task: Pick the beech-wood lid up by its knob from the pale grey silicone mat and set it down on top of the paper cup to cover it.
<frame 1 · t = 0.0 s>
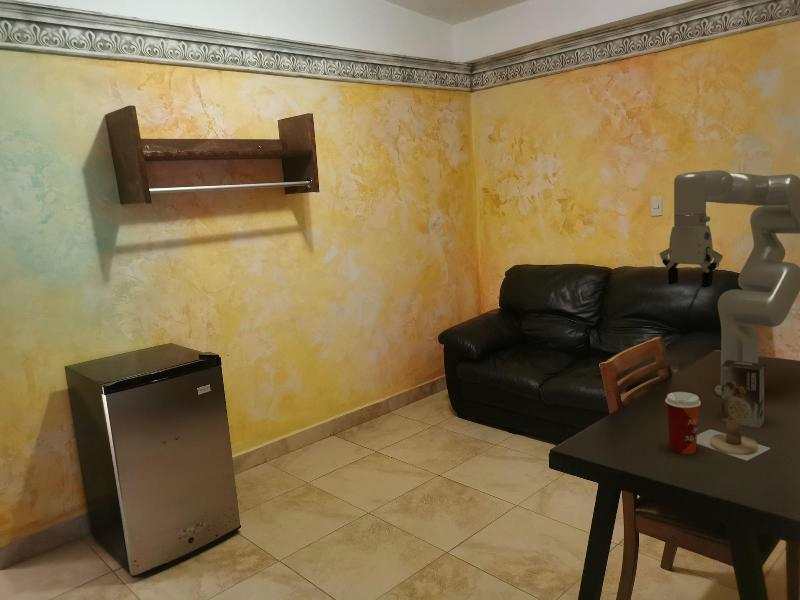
hand: (689, 285, 156), 37 cm above the table, tool pointing down, fingers open, 9 cm apart
coffee box: (742, 423, 154), on the table
lid: (733, 445, 141), point 1 cm above the table, touching mat
paper cup: (682, 451, 142), on the table
mat: (727, 446, 142), on the table
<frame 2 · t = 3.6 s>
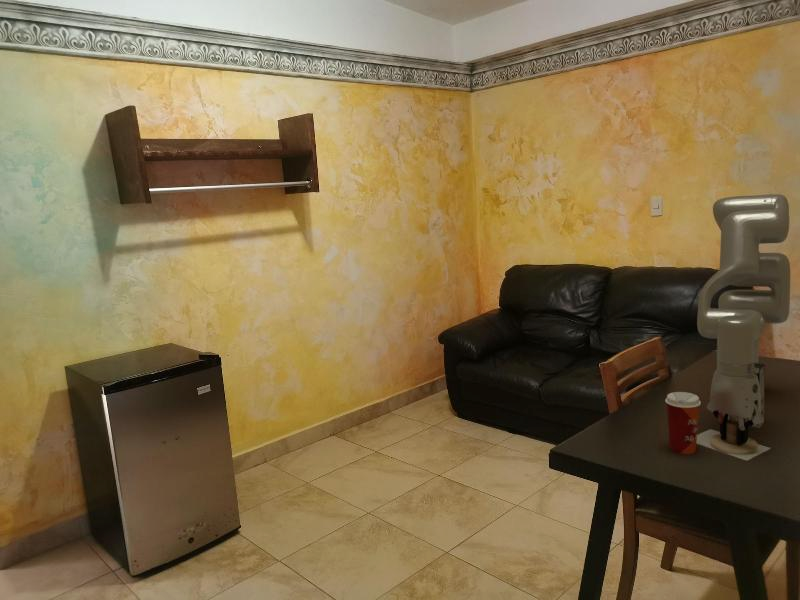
hand: (733, 440, 140), 2 cm above the table, tool pointing down, fingers closed on lid, 3 cm apart
lid: (733, 445, 141), point 1 cm above the table, touching gripper, mat
everything else where it was.
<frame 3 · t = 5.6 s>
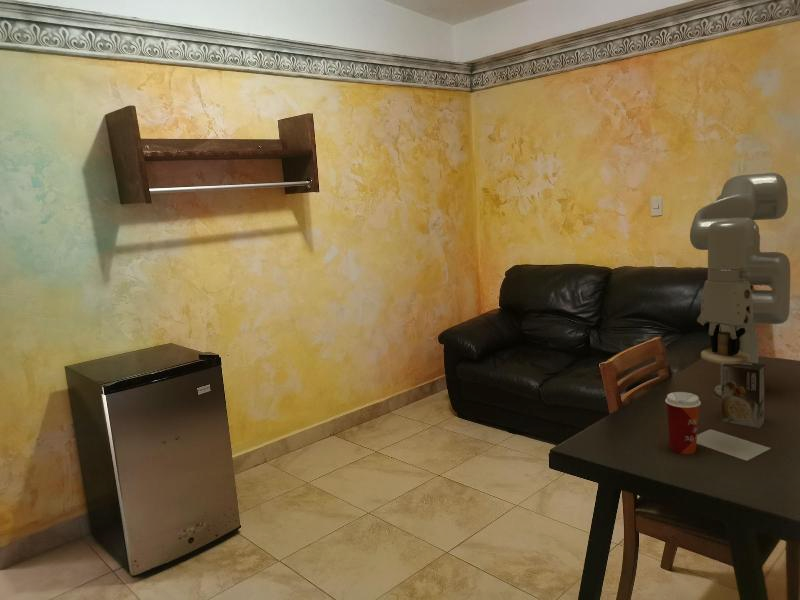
hand: (725, 351, 137), 24 cm above the table, tool pointing down, fingers closed on lid, 3 cm apart
lid: (725, 357, 137), point 23 cm above the table, touching gripper
everything else where it was.
when the fingers open (17 cm above the table, at t = 7.7 s): lid drops 2 cm, resting on paper cup.
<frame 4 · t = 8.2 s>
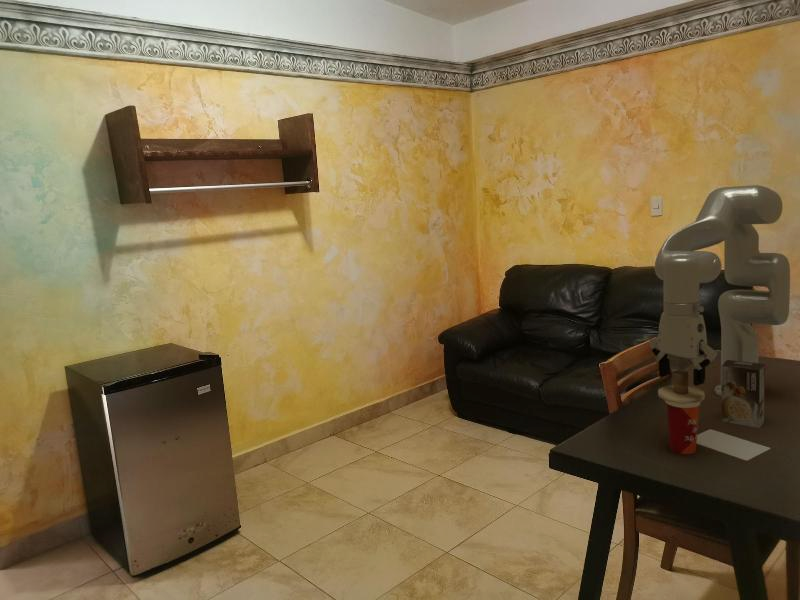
hand: (681, 379, 139), 18 cm above the table, tool pointing down, fingers open, 8 cm apart
lid: (681, 395, 139), point 14 cm above the table, touching paper cup
paper cup: (682, 451, 142), on the table, touching lid
everything else where it was.
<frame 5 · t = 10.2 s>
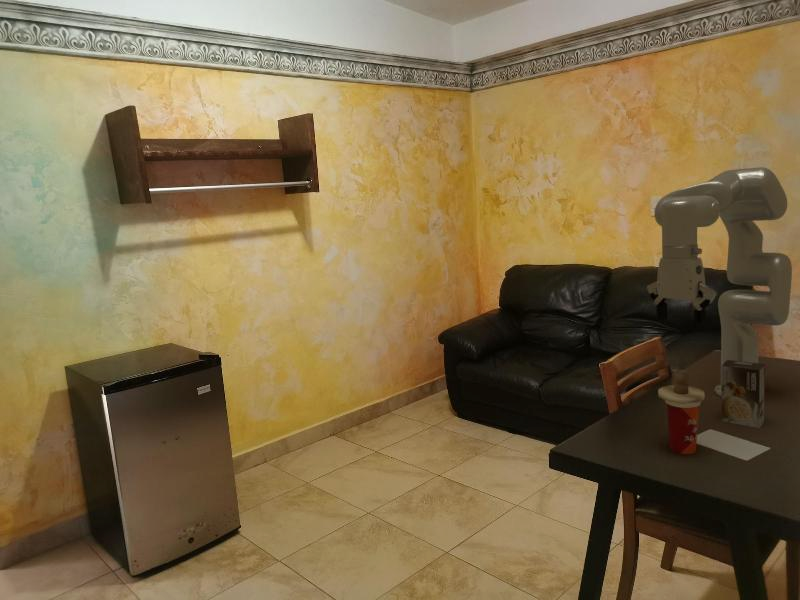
hand: (680, 322, 141), 31 cm above the table, tool pointing down, fingers open, 9 cm apart
nothing on the table moved.
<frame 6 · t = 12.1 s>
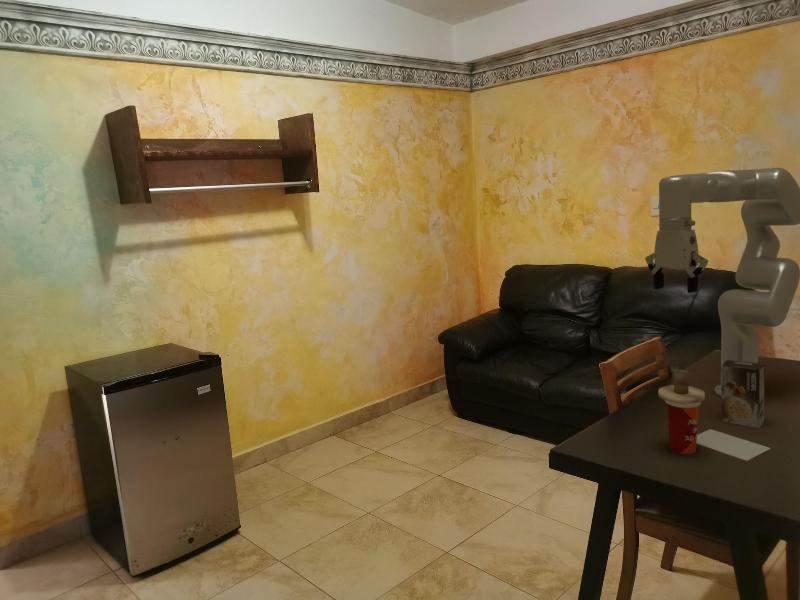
hand: (675, 290, 153), 36 cm above the table, tool pointing down, fingers open, 9 cm apart
nothing on the table moved.
at the end: lid 0.5 cm off-centre on the paper cup, point 14.2 cm above the paper cup's base; lid tilted 0°; the gripper is holding nothing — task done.
